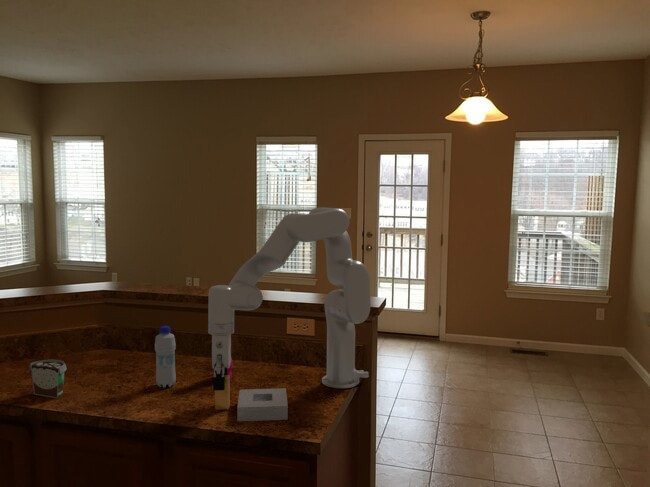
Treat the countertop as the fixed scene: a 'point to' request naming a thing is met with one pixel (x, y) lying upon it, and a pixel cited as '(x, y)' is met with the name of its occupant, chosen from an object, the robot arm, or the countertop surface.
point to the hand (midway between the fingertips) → (220, 384)
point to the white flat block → (262, 405)
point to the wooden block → (223, 396)
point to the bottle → (165, 357)
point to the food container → (48, 377)
